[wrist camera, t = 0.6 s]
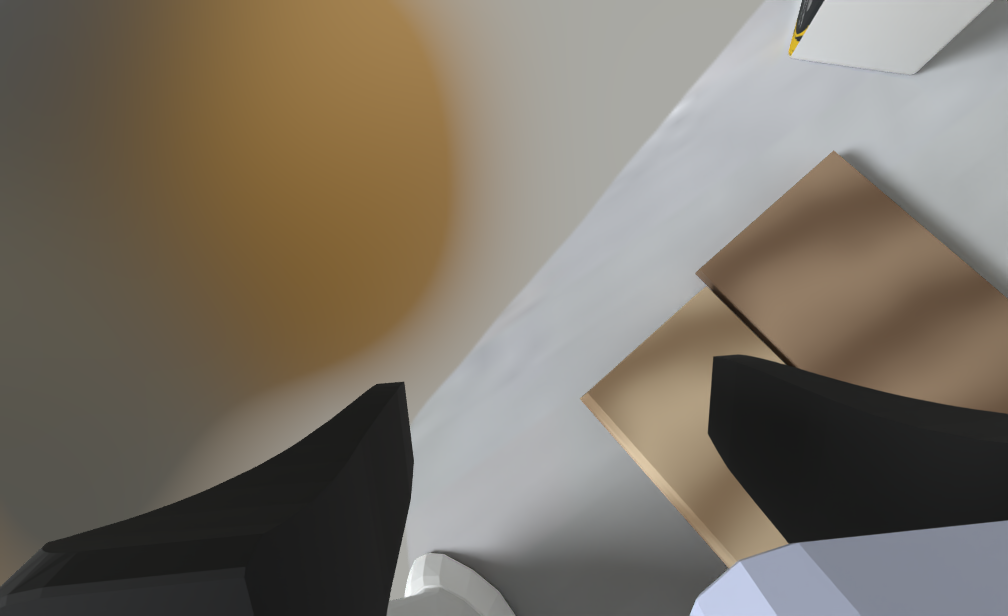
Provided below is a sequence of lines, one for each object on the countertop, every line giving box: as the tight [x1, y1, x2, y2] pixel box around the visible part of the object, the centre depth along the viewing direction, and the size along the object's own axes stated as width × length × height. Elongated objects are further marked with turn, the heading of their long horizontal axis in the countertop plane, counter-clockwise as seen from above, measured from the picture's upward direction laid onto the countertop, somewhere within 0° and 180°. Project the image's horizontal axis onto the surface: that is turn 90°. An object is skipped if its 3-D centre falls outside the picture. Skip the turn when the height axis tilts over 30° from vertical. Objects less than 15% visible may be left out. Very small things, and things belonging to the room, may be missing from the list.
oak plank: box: [580, 286, 789, 568], centre depth 26 cm, size 18×10×2 cm, turn 41°
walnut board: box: [695, 151, 1008, 414], centre depth 28 cm, size 20×10×2 cm, turn 41°
